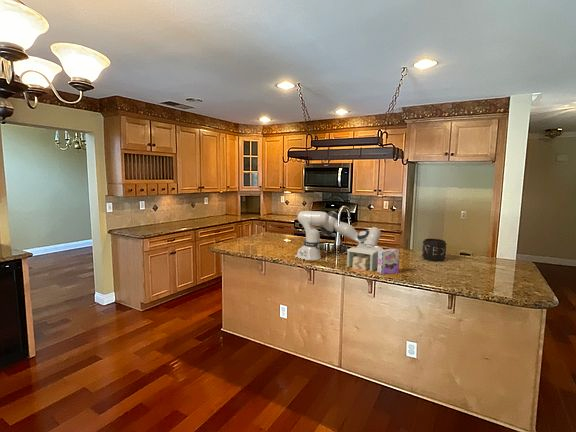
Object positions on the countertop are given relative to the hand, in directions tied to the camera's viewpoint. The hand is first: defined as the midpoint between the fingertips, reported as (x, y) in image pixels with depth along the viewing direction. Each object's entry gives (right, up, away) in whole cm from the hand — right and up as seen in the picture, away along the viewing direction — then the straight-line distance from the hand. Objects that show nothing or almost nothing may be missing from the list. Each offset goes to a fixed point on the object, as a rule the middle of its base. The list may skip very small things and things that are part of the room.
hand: (365, 260), depth 256 cm
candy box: (+12, -7, -16) cm, 22 cm away
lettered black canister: (+61, -2, +21) cm, 65 cm away
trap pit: (-8, -6, -10) cm, 14 cm away
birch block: (-3, -5, -4) cm, 7 cm away
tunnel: (-3, -5, -4) cm, 7 cm away
